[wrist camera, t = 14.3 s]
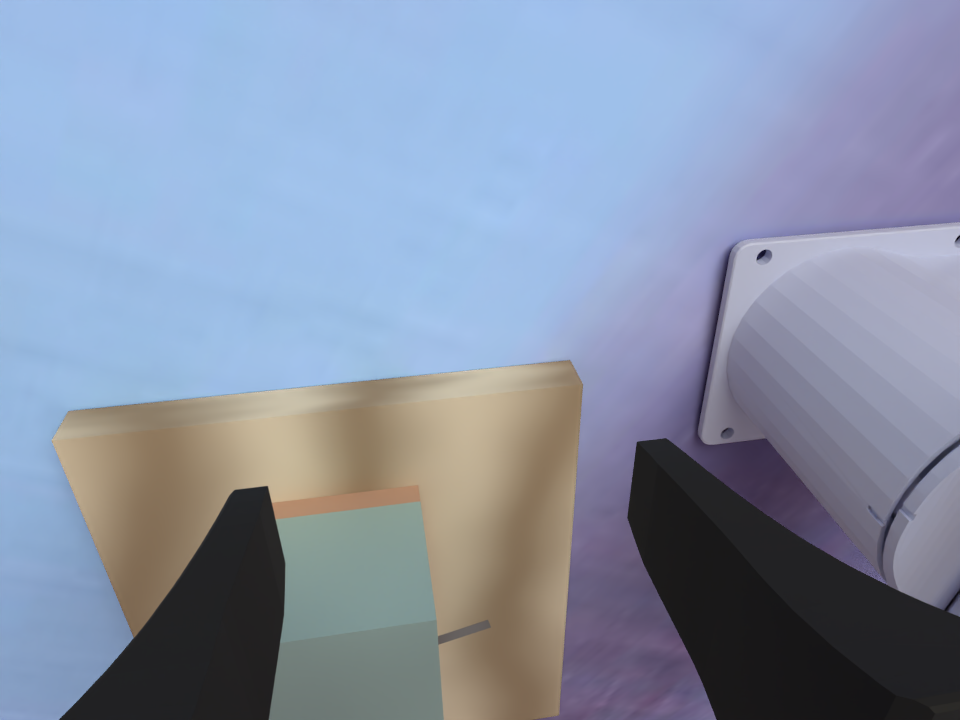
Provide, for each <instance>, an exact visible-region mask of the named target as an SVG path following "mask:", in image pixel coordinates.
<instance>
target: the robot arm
mask: <svg viewBox="0 0 960 720" xmlns="http://www.w3.org/2000/svg"><path fill="white" fill-rule="evenodd" d="M959 235H960V222H957V223H945V224H933V225H920V226H908V227H896V228H883V229H871V230H859V231H846V232H834V233H822V234H809V235H797V236H785V237H772V238H760V239H748V240H744V241H741V242H739V243H738V244H736V245H735V246H734V248H733V249H732V251H731V253H730V256H729V262H728V267H727V273H726V278H725V284H724V290H723V295H722V301H721V306H720V312H719V317H718V323H717V328H716V334H715V339H714V345H713V350H712V356H711V361H710V367H709V372H708V378H707V383H706V389H705V394H704V400H703V405H702V411H701V416H700V422H699V427H698V436H699V437H700V438H701V440H702V441H703V443H705V444H707V445H716V444H724V443H732V442H740V441H749V440H757V439H765V438H766V439H767V440H768V441H769V442H770V443H771V445H772V446H773V447H774V448H775V449H776V451H777V452H778V453H779V454H780V455H781V457H782V458H783V459H784V460H785V461H786V463H787V464H788V465H789V466H790V467H791V469H792V470H793V471H794V472H795V473H796V475H797V476H798V477H799V478H800V479H801V481H802V482H803V483H804V484H805V485H806V487H807V488H808V489H809V490H810V492H811V493H812V494H813V495H814V496H815V498H816V499H817V500H818V501H819V502H820V504H821V505H822V506H823V507H824V508H825V510H826V511H827V512H828V513H829V514H830V516H831V517H832V518H833V519H834V520H835V522H836V523H837V524H838V525H839V526H840V528H841V529H842V530H843V531H844V532H845V534H846V535H847V536H848V537H849V538H850V540H851V541H852V542H853V543H854V544H855V546H856V547H857V548H858V549H859V550H860V552H861V553H862V554H863V555H864V556H865V558H866V559H867V560H868V561H869V562H870V564H871V565H872V566H873V567H874V568H875V570H876V571H877V572H878V573H879V574H880V576H881V577H882V578H883V579H884V580H885V582H886V583H887V585H886V584H884V583H882V582H880V581H878V580H876V579H874V578H872V577H870V576H868V575H866V574H864V573H862V572H860V571H858V570H856V569H854V568H852V567H850V566H849V565H847V564H845V563H843V562H841V561H839V560H838V559H836V558H834V557H833V556H831V555H829V554H827V553H826V552H824V551H822V550H820V549H819V548H817V547H815V546H813V545H812V544H810V543H808V542H807V541H805V540H804V539H802V538H800V537H799V536H797V535H796V534H794V533H793V532H791V531H790V530H788V529H787V528H785V527H784V526H782V525H781V524H779V523H778V522H776V521H775V520H773V519H772V518H770V517H769V516H767V515H766V514H764V513H763V512H762V511H760V510H759V509H757V508H756V507H754V506H753V505H752V504H750V503H749V502H748V501H746V500H745V499H743V498H742V497H741V496H739V495H738V494H737V493H735V492H734V491H733V490H731V489H730V488H729V487H728V486H726V485H725V484H724V483H722V482H721V481H720V480H718V479H717V478H716V477H715V476H713V475H712V474H711V473H710V472H708V471H707V470H706V469H705V468H703V467H702V466H701V465H699V464H698V463H697V462H696V461H694V460H693V459H692V458H691V457H689V456H688V455H687V454H686V453H684V452H683V451H682V450H681V449H679V448H678V447H677V446H676V445H674V444H673V443H672V442H670V441H669V440H668V439H666V438H664V439H656V440H648V441H639V442H637V446H636V453H635V461H634V469H633V477H632V485H631V493H630V501H629V509H628V517H627V518H628V521H629V524H630V527H631V530H632V533H633V536H634V539H635V541H636V544H637V547H638V550H639V552H640V555H641V558H642V561H643V563H644V565H645V567H646V569H647V572H648V574H649V576H650V578H651V580H652V582H653V584H654V586H655V588H656V590H657V592H658V594H659V596H660V598H661V600H662V602H663V604H664V606H665V608H666V610H667V611H668V613H669V615H670V617H671V619H672V621H673V623H674V625H675V627H676V629H677V631H678V633H679V635H680V637H681V639H682V641H683V643H684V645H685V647H686V649H687V651H688V653H689V655H690V657H691V659H692V661H693V663H694V665H695V667H696V670H697V672H698V674H699V676H700V678H701V681H702V683H703V686H704V688H705V691H706V693H707V696H708V698H709V701H710V704H711V706H712V709H713V711H714V714H715V717H716V719H717V720H960V237H959V239H958V240H957V241H956V242H955V240H956V238H957V237H958V236H959ZM762 250H766V253H765V255H764V256H763V257H762V258H761V259H759V260H757V259H756V258H757V256H758V254H759V253H760V252H761V251H762ZM726 428H728V430H726V431H725V432H722V431H723V430H724V429H726ZM285 564H286V563H285V559H284V554H283V550H282V546H281V541H280V537H279V532H278V528H277V524H276V519H275V515H274V510H273V506H272V502H271V497H270V493H269V488H268V486H262V487H254V488H246V489H237V490H234V491H233V492H232V493H231V494H230V495H229V497H228V499H227V500H226V502H225V504H224V506H223V508H222V509H221V511H220V513H219V515H218V517H217V518H216V520H215V522H214V523H213V525H212V527H211V528H210V530H209V532H208V533H207V535H206V537H205V538H204V540H203V542H202V543H201V545H200V546H199V548H198V550H197V551H196V553H195V554H194V556H193V557H192V559H191V560H190V562H189V563H188V565H187V566H186V568H185V569H184V571H183V572H182V574H181V576H180V577H179V579H178V580H177V581H176V583H175V584H174V586H173V587H172V588H171V590H170V591H169V593H168V594H167V595H166V597H165V598H164V599H163V601H162V602H161V603H160V605H159V606H158V608H157V609H156V610H155V612H154V613H153V614H152V616H151V617H150V618H149V620H148V621H147V622H146V624H145V625H144V626H143V627H142V629H141V630H140V631H139V632H138V634H137V635H136V636H135V637H134V639H133V640H132V641H131V642H130V644H129V645H128V646H127V647H126V648H125V649H124V651H123V652H122V653H121V654H120V655H119V656H118V658H117V659H116V660H115V661H114V662H113V663H112V665H111V666H110V667H109V668H108V669H107V670H106V671H105V672H104V673H103V675H102V676H101V677H100V678H99V679H98V680H97V681H96V682H95V683H94V684H93V685H92V686H91V687H90V688H89V689H88V691H87V692H86V693H85V694H84V695H83V696H82V697H81V698H80V699H79V700H78V701H77V702H76V703H75V704H74V705H73V706H72V707H71V708H70V709H69V710H68V711H67V712H66V713H65V714H64V715H63V716H62V717H61V718H60V719H59V720H269V715H270V708H271V701H272V695H273V688H274V681H275V674H276V668H277V661H278V654H279V647H280V640H281V633H282V626H283V619H284V605H285Z"/></svg>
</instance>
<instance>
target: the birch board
mask: <svg viewBox="0 0 960 720" xmlns="http://www.w3.org/2000/svg"><path fill="white" fill-rule="evenodd" d="M582 389H583V384H582V382H581V380H580V378H579V376H578V374H577V372H576V370H575V368H574V366H573V365H572V363H571V361H570V360H568V361H558V362H548V363H538V364H528V365H519V366H509V367H499V368H489V369H479V370H469V371H460V372H450V373H440V374H430V375H420V376H410V377H400V378H391V379H381V380H371V381H361V382H351V383H341V384H331V385H322V386H312V387H302V388H292V389H282V390H272V391H263V392H253V393H243V394H233V395H223V396H213V397H203V398H194V399H184V400H174V401H164V402H154V403H144V404H134V405H125V406H115V407H105V408H95V409H85V410H75V411H68V413H67V415H66V416H65V418H64V420H63V422H62V423H61V425H60V427H59V429H58V430H57V432H56V434H55V436H54V438H53V439H52V443H53V445H54V448H55V450H56V452H57V455H58V457H59V459H60V462H61V464H62V467H63V469H64V471H65V474H66V476H67V479H68V481H69V483H70V486H71V488H72V491H73V493H74V495H75V498H76V500H77V503H78V505H79V507H80V510H81V512H82V515H83V517H84V519H85V522H86V524H87V526H88V529H89V531H90V534H91V536H92V538H93V541H94V543H95V546H96V548H97V550H98V553H99V555H100V558H101V560H102V562H103V565H104V567H105V570H106V572H107V574H108V577H109V579H110V582H111V584H112V586H113V589H114V591H115V593H116V596H117V598H118V601H119V603H120V605H121V608H122V610H123V613H124V615H125V617H126V620H127V622H128V625H129V627H130V629H131V632H132V634H133V637H135V636H136V635H137V634H138V632H139V631H140V630H141V629H142V627H143V626H144V625H145V624H146V622H147V621H148V620H149V618H150V617H151V616H152V614H153V613H154V612H155V610H156V609H157V608H158V606H159V605H160V603H161V602H162V601H163V599H164V598H165V597H166V595H167V594H168V593H169V591H170V590H171V588H172V587H173V586H174V584H175V583H176V581H177V580H178V579H179V577H180V576H181V574H182V572H183V571H184V569H185V568H186V566H187V565H188V563H189V562H190V560H191V559H192V557H193V556H194V554H195V553H196V551H197V550H198V548H199V546H200V545H201V543H202V542H203V540H204V538H205V537H206V535H207V533H208V532H209V530H210V528H211V527H212V525H213V523H214V522H215V520H216V518H217V517H218V515H219V513H220V511H221V509H222V508H223V506H224V504H225V502H226V500H227V499H228V497H229V495H230V494H231V493H232V492H233V491H234V490H237V489H246V488H254V487H262V486H268V488H269V493H270V497H271V502H272V503H275V502H284V501H292V500H300V499H308V498H316V497H325V496H333V495H341V494H349V493H357V492H366V491H374V490H382V489H390V488H398V487H407V486H415V485H418V487H419V494H420V502H421V509H422V516H423V524H424V531H425V538H426V546H427V553H428V560H429V568H430V575H431V583H432V590H433V597H434V605H435V612H436V619H437V633H438V647H439V661H440V674H441V688H442V702H443V716H444V720H534V719H540V718H546V717H552V716H558V715H559V707H560V693H561V679H562V665H563V651H564V638H565V624H566V610H567V596H568V583H569V569H570V555H571V541H572V527H573V514H574V500H575V486H576V472H577V458H578V445H579V431H580V417H581V403H582Z"/></svg>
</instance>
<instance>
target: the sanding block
mask: <svg viewBox="0 0 960 720" xmlns="http://www.w3.org/2000/svg"><path fill="white" fill-rule="evenodd" d="M272 506H273V510H274V515H275V519H276V524H277V528H278V532H279V537H280V541H281V546H282V550H283V554H284V559H285V563H286V564H285V605H284V619H283V626H282V633H281V640H280V647H279V654H278V661H277V668H276V674H275V681H274V688H273V695H272V701H271V708H270V715H269V720H444V716H443V702H442V688H441V674H440V661H439V647H438V633H437V619H436V612H435V605H434V597H433V590H432V583H431V575H430V568H429V560H428V553H427V546H426V538H425V531H424V524H423V516H422V509H421V502H420V494H419V487H418V485H415V486H407V487H398V488H390V489H382V490H374V491H366V492H357V493H349V494H341V495H333V496H325V497H316V498H308V499H300V500H292V501H284V502H275V503H272Z"/></svg>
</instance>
